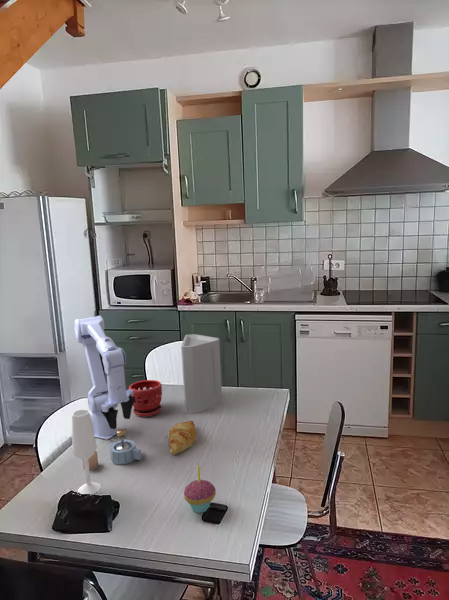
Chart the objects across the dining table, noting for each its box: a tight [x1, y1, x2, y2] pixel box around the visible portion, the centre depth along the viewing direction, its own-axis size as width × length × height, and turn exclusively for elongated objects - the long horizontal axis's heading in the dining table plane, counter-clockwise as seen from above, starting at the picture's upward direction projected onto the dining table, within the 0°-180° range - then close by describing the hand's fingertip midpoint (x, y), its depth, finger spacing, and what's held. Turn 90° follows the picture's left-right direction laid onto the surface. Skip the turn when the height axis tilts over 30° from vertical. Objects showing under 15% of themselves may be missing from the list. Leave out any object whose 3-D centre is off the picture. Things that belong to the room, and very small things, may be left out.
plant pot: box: [128, 379, 163, 418], centre depth 180 cm, size 13×13×12 cm
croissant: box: [167, 420, 197, 456], centre depth 154 cm, size 21×10×8 cm, turn 168°
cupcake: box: [183, 462, 217, 514], centre depth 118 cm, size 9×8×12 cm
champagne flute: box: [71, 408, 102, 494], centre depth 127 cm, size 7×7×24 cm
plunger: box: [116, 428, 130, 451], centre depth 145 cm, size 5×5×6 cm
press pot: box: [109, 439, 142, 466], centre depth 145 cm, size 11×8×4 cm
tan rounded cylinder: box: [82, 450, 99, 471], centre depth 141 cm, size 5×5×4 cm
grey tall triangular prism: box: [180, 333, 223, 415], centre depth 184 cm, size 19×15×28 cm
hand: (120, 423), depth 148 cm, fingers open, 7 cm apart
